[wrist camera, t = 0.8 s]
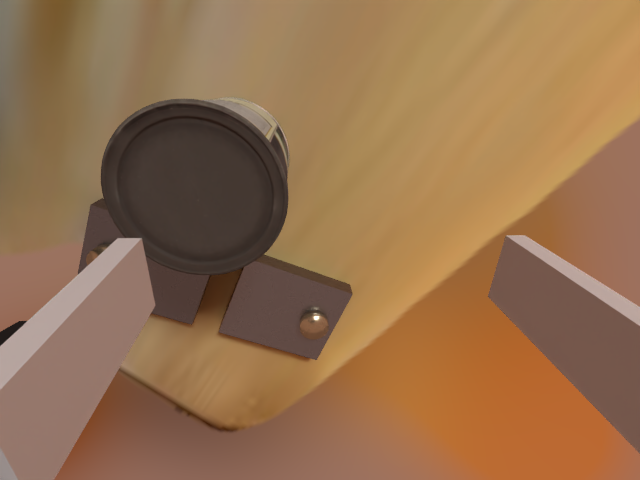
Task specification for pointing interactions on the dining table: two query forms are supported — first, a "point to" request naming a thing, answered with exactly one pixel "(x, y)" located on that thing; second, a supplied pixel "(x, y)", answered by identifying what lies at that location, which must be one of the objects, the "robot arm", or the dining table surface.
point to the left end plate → (167, 285)
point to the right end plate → (285, 307)
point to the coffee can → (198, 182)
